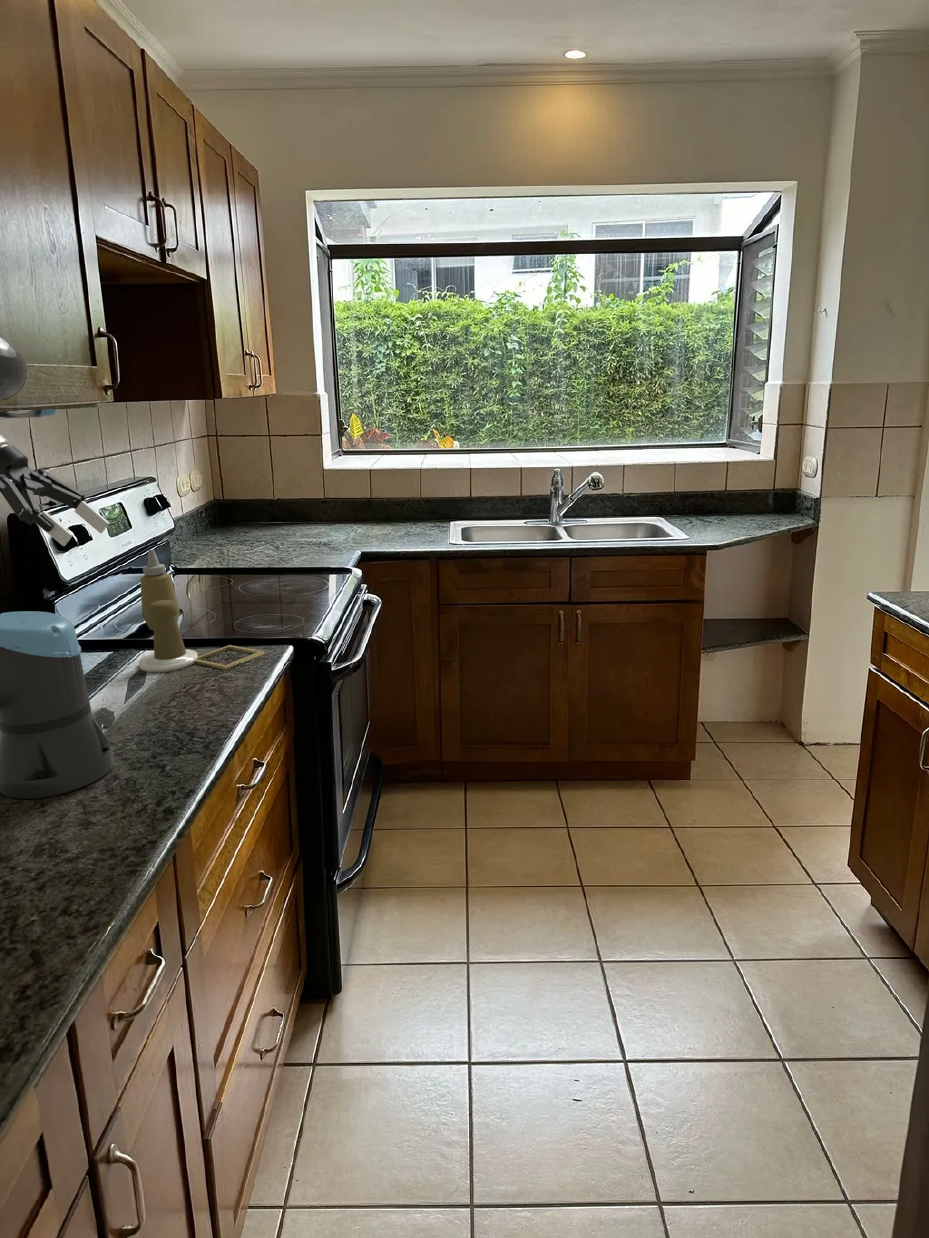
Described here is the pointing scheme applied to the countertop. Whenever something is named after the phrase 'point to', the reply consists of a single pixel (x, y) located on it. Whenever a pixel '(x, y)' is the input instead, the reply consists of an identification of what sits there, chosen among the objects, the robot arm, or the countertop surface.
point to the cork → (166, 631)
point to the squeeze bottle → (155, 587)
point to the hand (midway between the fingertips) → (87, 534)
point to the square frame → (255, 654)
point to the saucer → (167, 662)
